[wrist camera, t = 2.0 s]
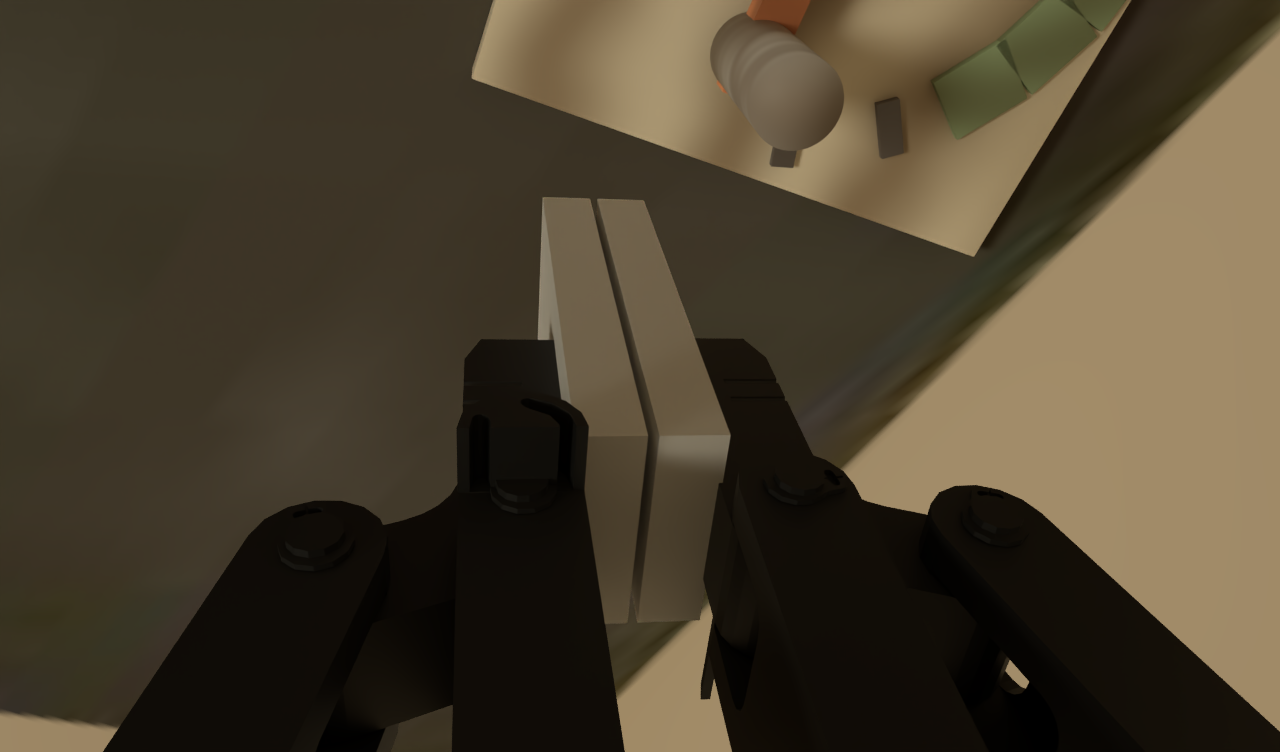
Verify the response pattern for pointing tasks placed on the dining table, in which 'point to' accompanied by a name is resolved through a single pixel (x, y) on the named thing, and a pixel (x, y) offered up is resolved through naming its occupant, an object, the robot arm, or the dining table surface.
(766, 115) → the dial
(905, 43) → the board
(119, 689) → the dining table surface
